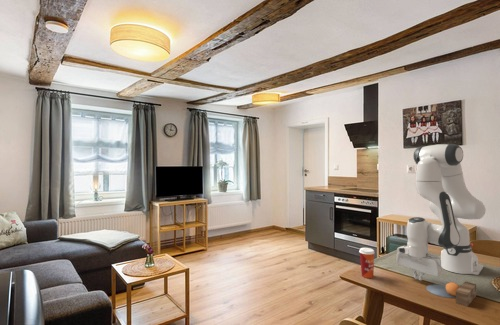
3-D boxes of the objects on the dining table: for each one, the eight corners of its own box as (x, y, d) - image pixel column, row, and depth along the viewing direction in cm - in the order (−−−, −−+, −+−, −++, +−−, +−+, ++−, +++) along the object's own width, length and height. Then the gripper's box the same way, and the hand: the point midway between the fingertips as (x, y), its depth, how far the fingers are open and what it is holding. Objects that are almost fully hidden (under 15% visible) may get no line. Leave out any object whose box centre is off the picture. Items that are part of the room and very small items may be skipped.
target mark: (435, 282, 139) (435, 282, 139) (466, 292, 127) (466, 292, 127) (420, 289, 132) (420, 289, 132) (452, 300, 121) (452, 300, 121)
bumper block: (465, 292, 128) (465, 281, 128) (476, 295, 125) (476, 284, 125) (456, 303, 119) (455, 291, 119) (467, 306, 116) (467, 294, 116)
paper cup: (368, 280, 143) (367, 252, 143) (356, 275, 150) (355, 248, 150) (379, 277, 147) (378, 250, 147) (366, 272, 154) (366, 246, 154)
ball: (448, 290, 129) (448, 278, 129) (463, 295, 125) (462, 282, 125) (443, 295, 126) (443, 283, 126) (458, 299, 122) (457, 287, 121)
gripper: (444, 255, 132) (445, 285, 132) (401, 245, 149) (402, 271, 149) (437, 258, 128) (438, 288, 128) (394, 247, 146) (395, 274, 146)
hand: (418, 279), depth 139 cm, fingers closed
